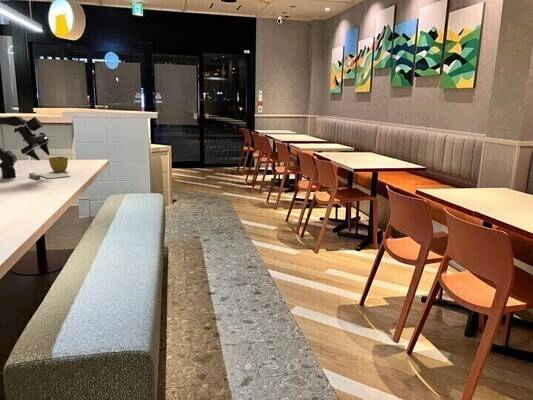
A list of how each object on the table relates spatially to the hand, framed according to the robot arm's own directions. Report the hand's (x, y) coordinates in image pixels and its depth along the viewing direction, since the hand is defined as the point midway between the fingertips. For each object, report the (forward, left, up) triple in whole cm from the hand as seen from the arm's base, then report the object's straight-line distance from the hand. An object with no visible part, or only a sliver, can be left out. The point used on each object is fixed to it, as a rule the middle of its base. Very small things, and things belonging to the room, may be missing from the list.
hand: (44, 157), depth 264 cm
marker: (-7, -1, -12) cm, 14 cm away
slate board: (+4, -2, -12) cm, 13 cm away
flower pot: (+13, +15, -12) cm, 24 cm away
